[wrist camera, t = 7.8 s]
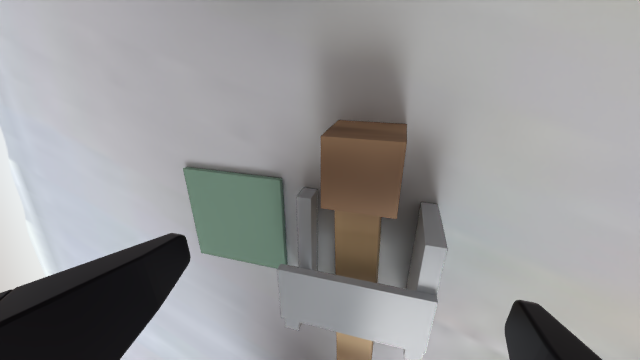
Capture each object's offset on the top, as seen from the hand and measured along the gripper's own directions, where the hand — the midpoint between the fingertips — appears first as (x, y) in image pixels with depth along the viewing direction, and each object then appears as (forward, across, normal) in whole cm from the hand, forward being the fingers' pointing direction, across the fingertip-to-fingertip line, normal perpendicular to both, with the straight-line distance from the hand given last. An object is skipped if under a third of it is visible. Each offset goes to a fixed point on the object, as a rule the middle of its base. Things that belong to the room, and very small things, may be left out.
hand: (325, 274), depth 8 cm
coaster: (+11, +10, +6) cm, 16 cm away
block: (+11, 0, 0) cm, 11 cm away
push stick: (+11, 0, +9) cm, 14 cm away
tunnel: (+11, 0, +8) cm, 13 cm away
